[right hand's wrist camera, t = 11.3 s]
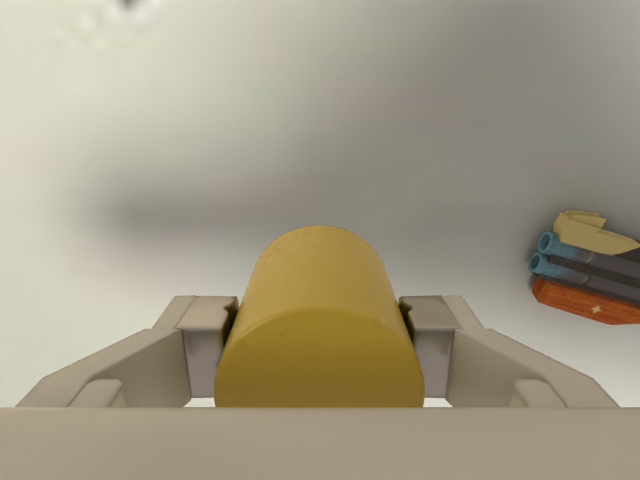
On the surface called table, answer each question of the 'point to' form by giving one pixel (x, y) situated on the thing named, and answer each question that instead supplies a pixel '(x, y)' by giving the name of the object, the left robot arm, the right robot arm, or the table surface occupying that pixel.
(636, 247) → the toy gun
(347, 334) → the cylinder
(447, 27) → the table surface
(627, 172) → the table surface
